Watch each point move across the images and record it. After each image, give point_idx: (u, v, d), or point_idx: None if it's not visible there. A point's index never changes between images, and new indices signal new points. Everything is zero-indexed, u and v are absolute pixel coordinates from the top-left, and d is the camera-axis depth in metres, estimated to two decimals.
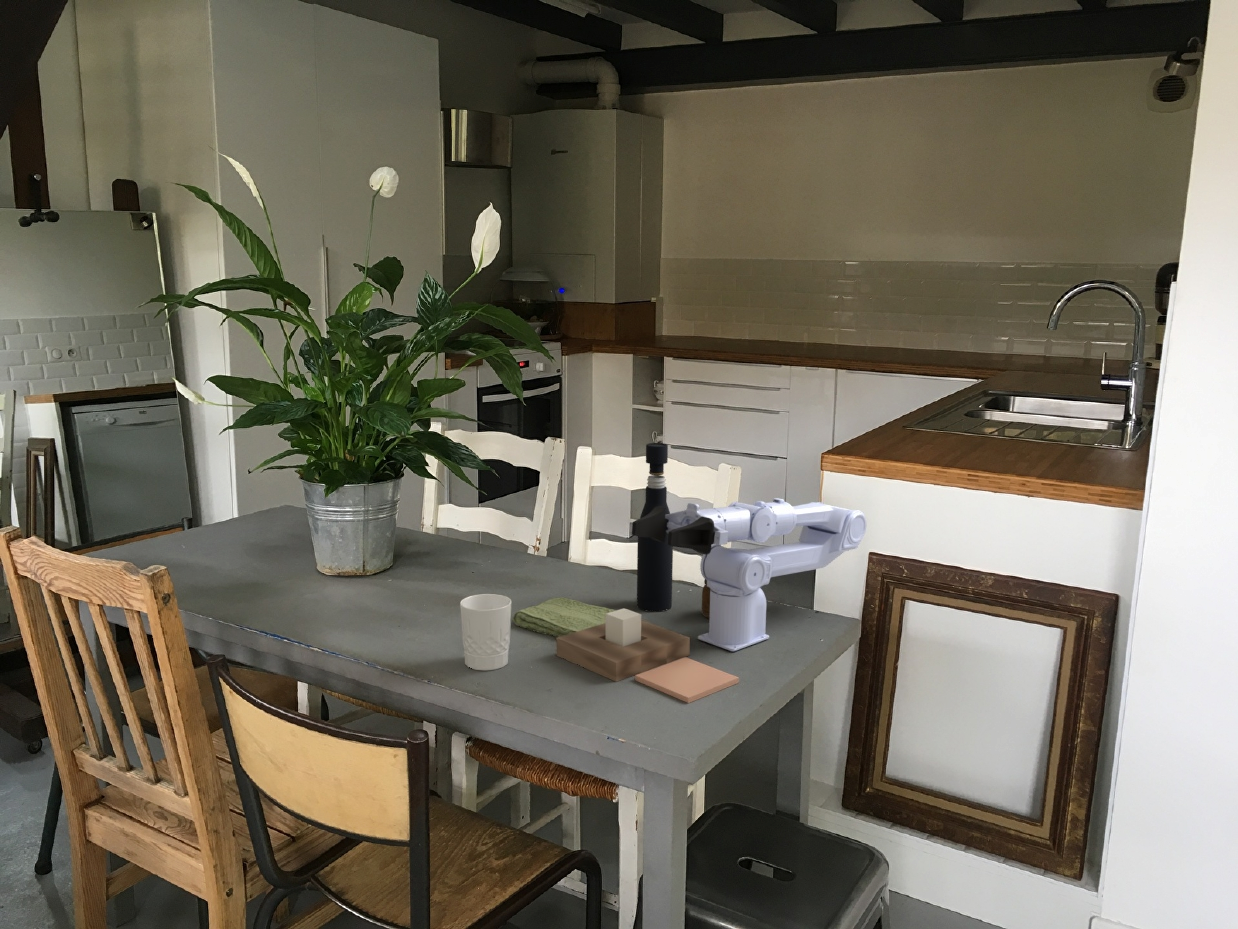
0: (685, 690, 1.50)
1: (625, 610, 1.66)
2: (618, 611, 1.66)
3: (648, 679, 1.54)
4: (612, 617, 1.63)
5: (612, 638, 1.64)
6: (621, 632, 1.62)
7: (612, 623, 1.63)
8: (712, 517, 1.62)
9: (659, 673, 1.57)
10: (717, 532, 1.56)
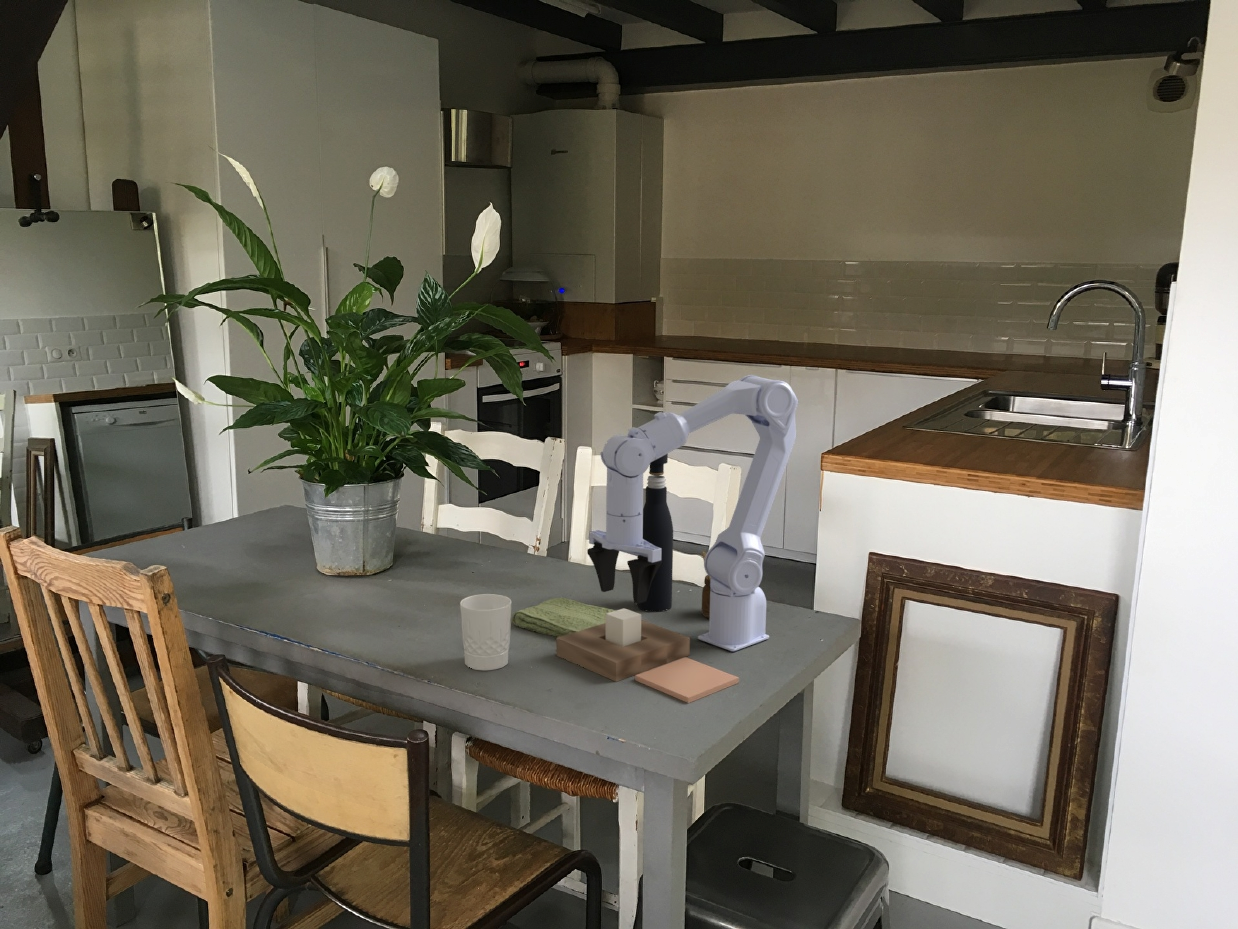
0: (685, 690, 1.50)
1: (625, 610, 1.66)
2: (618, 611, 1.66)
3: (648, 679, 1.54)
4: (612, 617, 1.63)
5: (612, 638, 1.64)
6: (621, 632, 1.62)
7: (612, 623, 1.63)
8: (624, 531, 1.59)
9: (659, 673, 1.57)
10: (650, 561, 1.57)
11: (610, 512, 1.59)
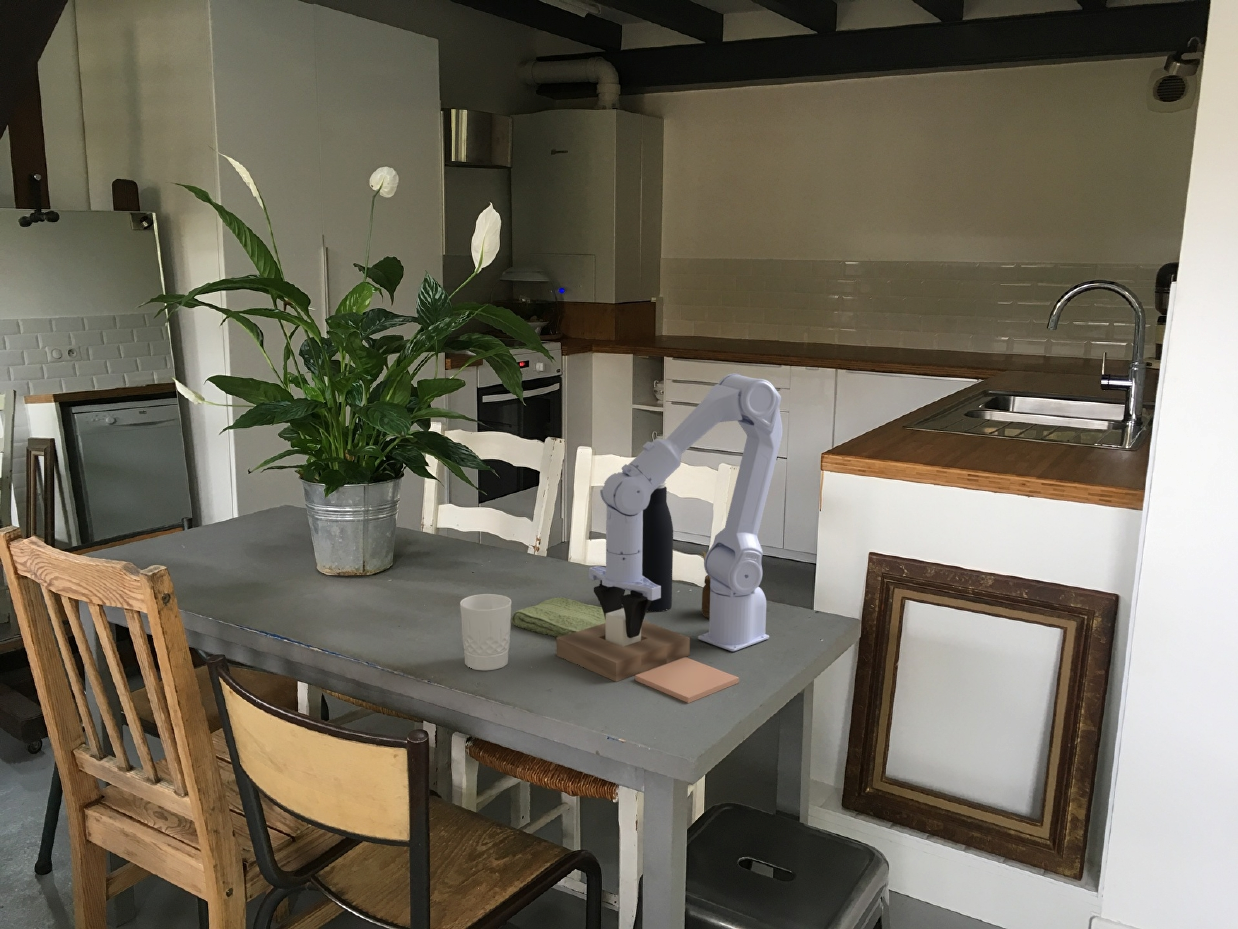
0: (685, 690, 1.50)
1: None
2: (618, 611, 1.66)
3: (648, 679, 1.54)
4: (612, 617, 1.63)
5: (612, 637, 1.64)
6: (621, 632, 1.62)
7: (612, 622, 1.63)
8: (623, 569, 1.60)
9: (659, 673, 1.57)
10: (649, 599, 1.58)
11: (610, 550, 1.60)
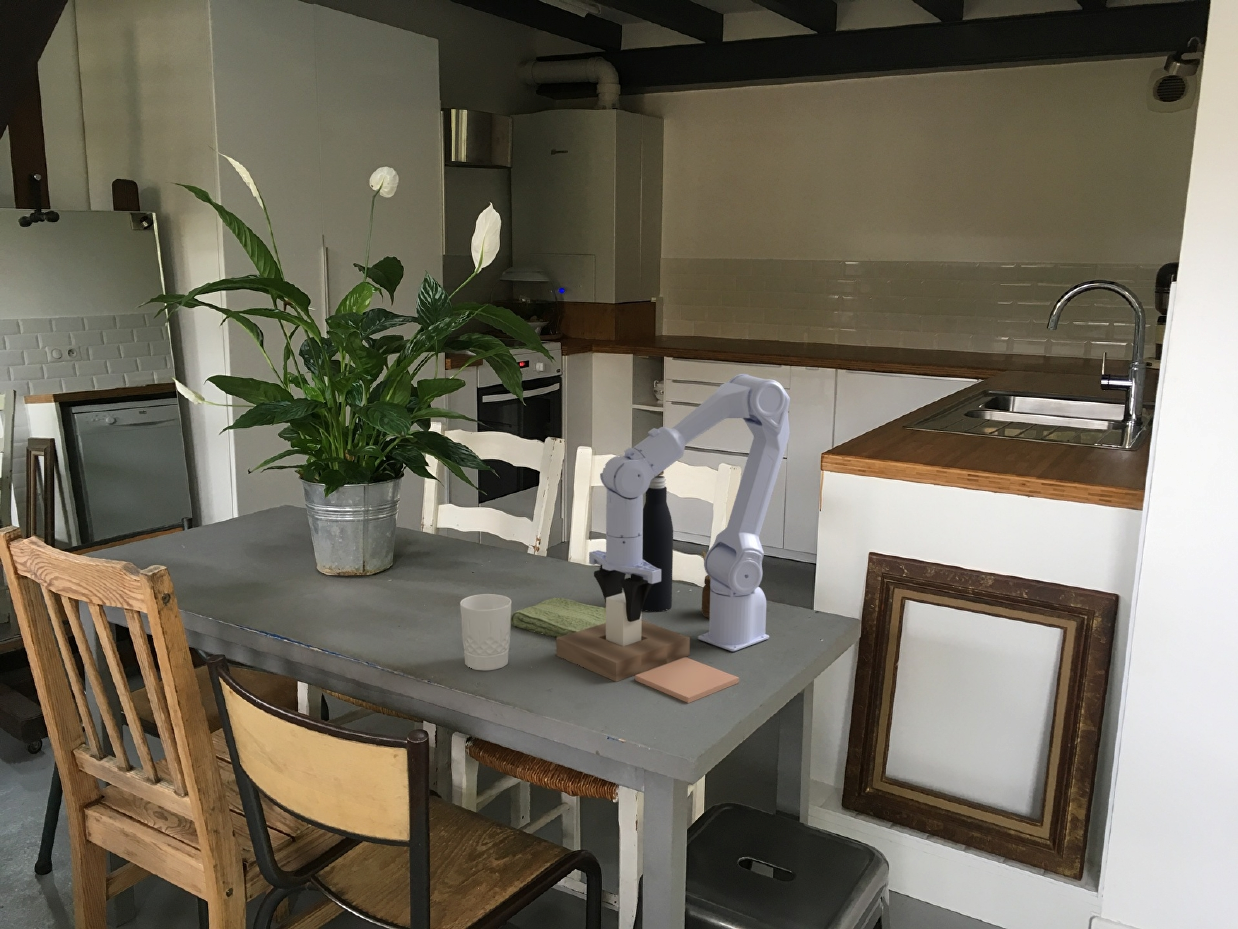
0: (685, 690, 1.50)
1: None
2: (618, 595, 1.65)
3: (648, 679, 1.54)
4: (612, 601, 1.63)
5: (613, 622, 1.63)
6: (621, 616, 1.62)
7: (613, 606, 1.63)
8: (623, 552, 1.59)
9: (659, 673, 1.57)
10: (650, 582, 1.58)
11: (610, 533, 1.60)
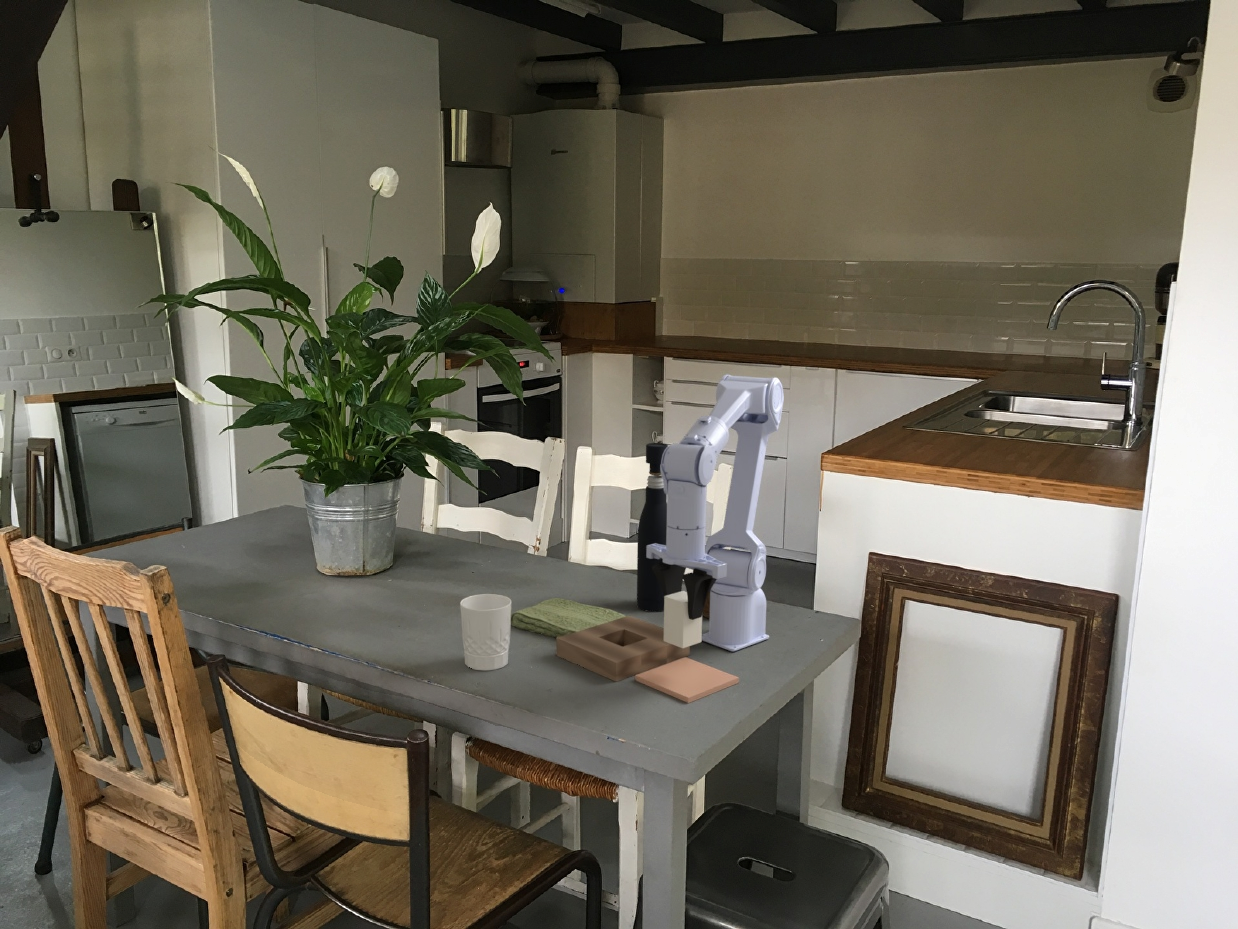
0: (685, 690, 1.50)
1: (685, 592, 1.55)
2: (677, 593, 1.55)
3: (648, 679, 1.54)
4: (672, 600, 1.53)
5: (672, 622, 1.53)
6: (682, 616, 1.51)
7: (672, 606, 1.53)
8: (686, 545, 1.49)
9: (659, 673, 1.57)
10: (714, 577, 1.47)
11: (683, 527, 1.49)
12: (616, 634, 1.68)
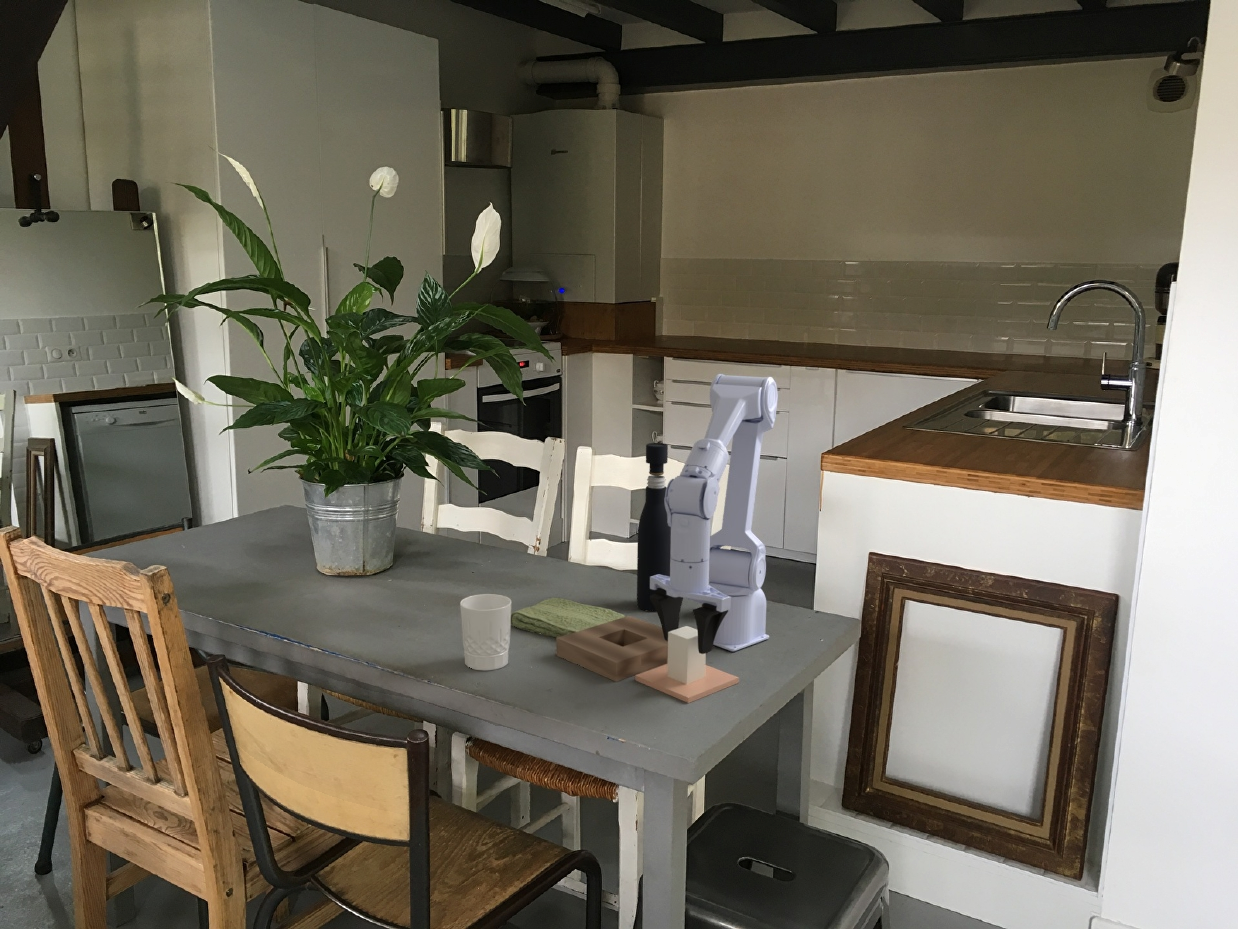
0: (685, 690, 1.50)
1: (688, 628, 1.56)
2: (681, 629, 1.55)
3: (648, 679, 1.54)
4: (675, 636, 1.53)
5: (676, 658, 1.54)
6: (686, 652, 1.52)
7: (676, 642, 1.53)
8: (690, 578, 1.50)
9: (659, 673, 1.57)
10: (718, 611, 1.48)
11: (688, 560, 1.49)
12: (616, 634, 1.68)
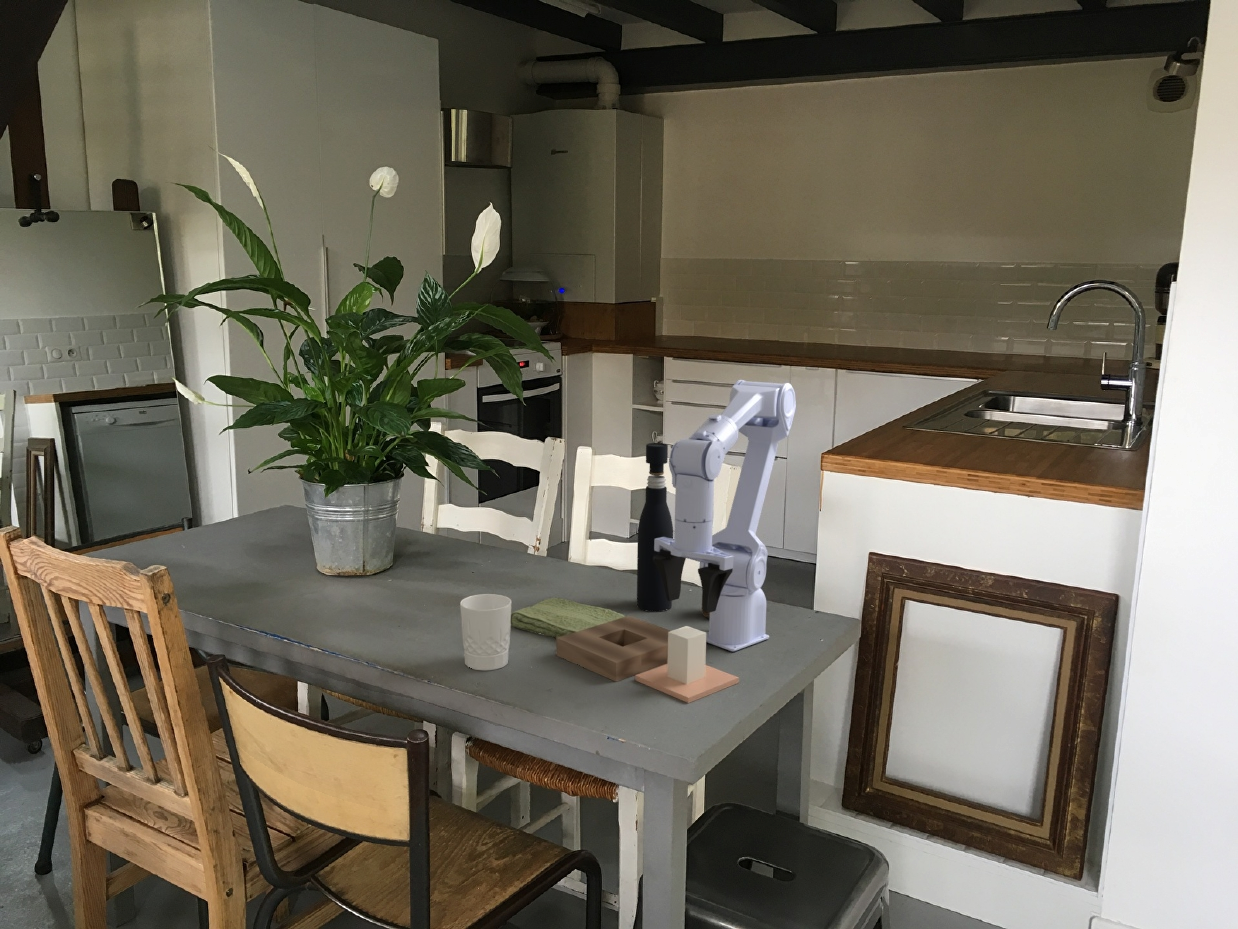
0: (685, 690, 1.50)
1: (688, 628, 1.56)
2: (681, 629, 1.55)
3: (648, 679, 1.54)
4: (675, 636, 1.53)
5: (676, 658, 1.54)
6: (686, 652, 1.52)
7: (676, 642, 1.53)
8: (694, 538, 1.53)
9: (659, 673, 1.57)
10: (721, 569, 1.51)
11: (690, 520, 1.53)
12: (616, 634, 1.68)
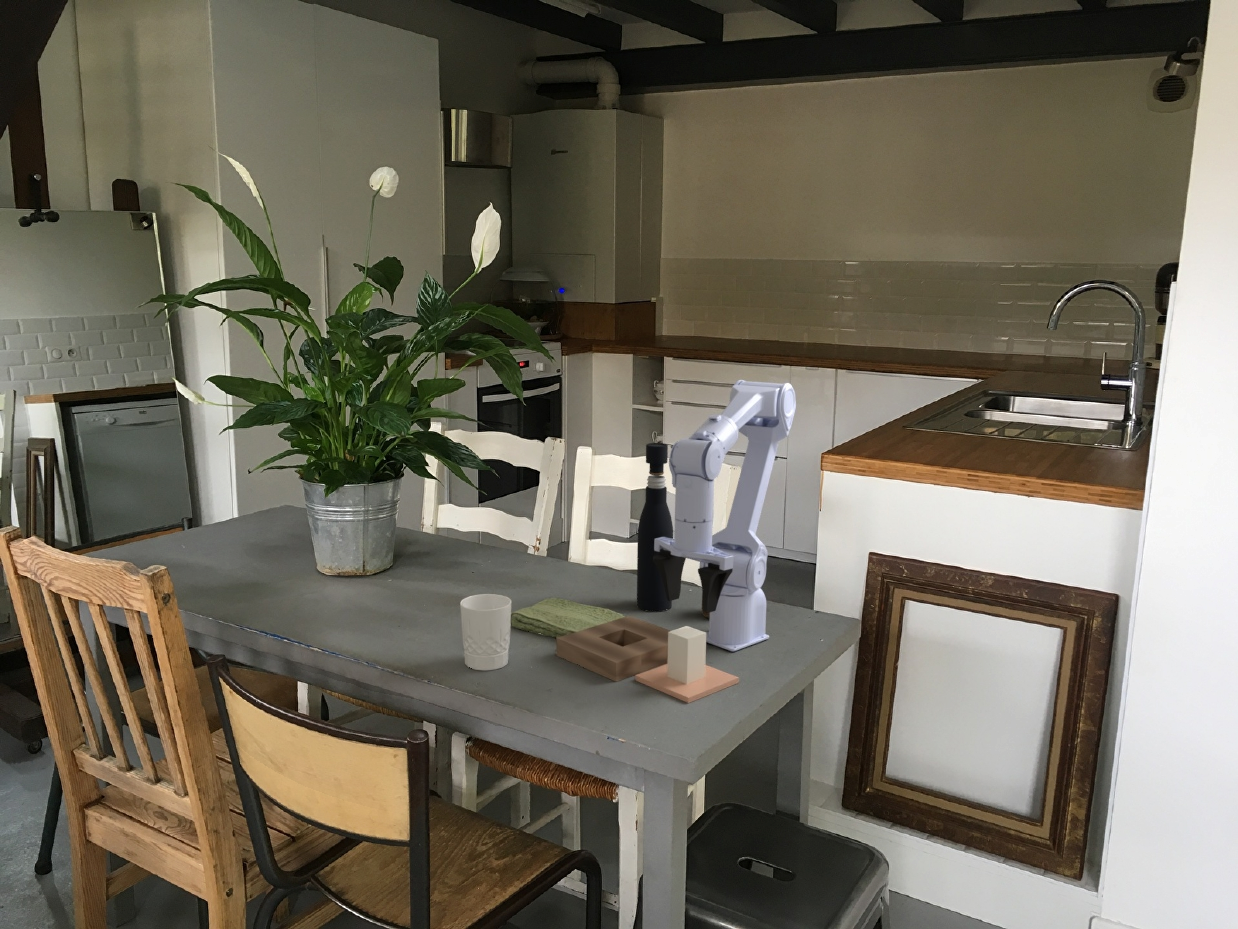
0: (685, 690, 1.50)
1: (688, 628, 1.56)
2: (681, 629, 1.55)
3: (648, 679, 1.54)
4: (675, 636, 1.53)
5: (676, 658, 1.54)
6: (686, 652, 1.52)
7: (676, 642, 1.53)
8: (694, 538, 1.53)
9: (659, 673, 1.57)
10: (721, 569, 1.51)
11: (690, 520, 1.53)
12: (616, 634, 1.68)
